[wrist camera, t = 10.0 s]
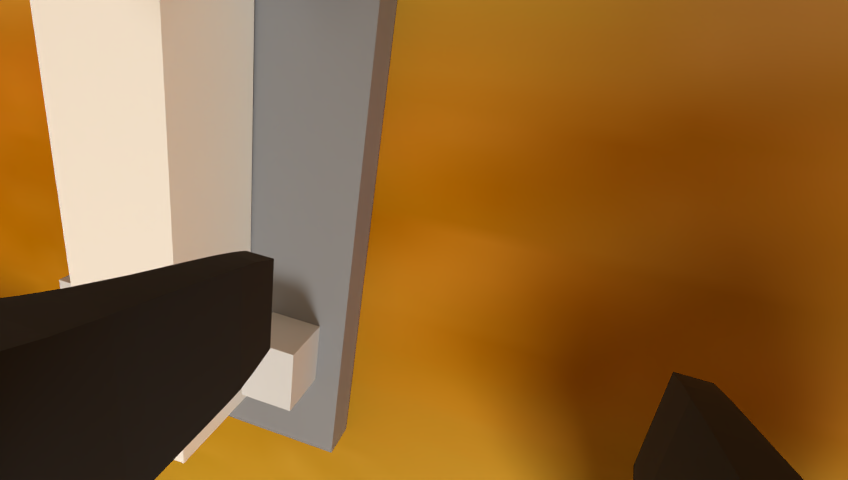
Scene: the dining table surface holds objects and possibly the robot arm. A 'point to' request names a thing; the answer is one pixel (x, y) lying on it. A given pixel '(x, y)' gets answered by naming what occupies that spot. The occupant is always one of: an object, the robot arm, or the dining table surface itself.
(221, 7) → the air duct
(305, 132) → the collar stand
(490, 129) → the dining table surface
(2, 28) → the dining table surface
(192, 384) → the robot arm
